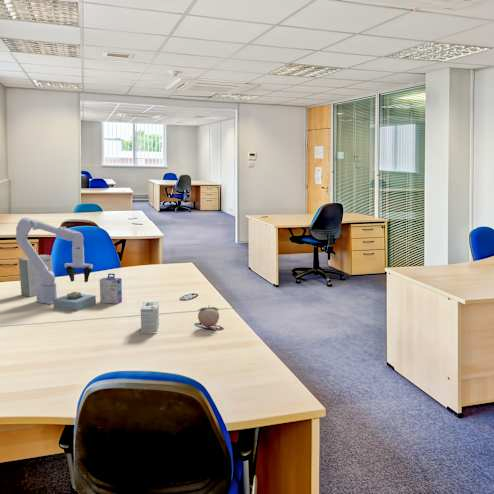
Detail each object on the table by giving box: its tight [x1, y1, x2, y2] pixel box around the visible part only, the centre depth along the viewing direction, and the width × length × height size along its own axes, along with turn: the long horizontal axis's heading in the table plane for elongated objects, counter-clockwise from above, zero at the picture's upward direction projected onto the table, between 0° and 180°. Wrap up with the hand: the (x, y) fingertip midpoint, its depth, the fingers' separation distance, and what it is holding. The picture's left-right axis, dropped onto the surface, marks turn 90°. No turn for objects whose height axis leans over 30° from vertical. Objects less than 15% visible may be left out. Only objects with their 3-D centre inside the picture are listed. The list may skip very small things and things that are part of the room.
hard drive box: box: [18, 254, 54, 298], centre depth 278 cm, size 16×8×20 cm, turn 144°
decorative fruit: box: [197, 306, 220, 328], centre depth 222 cm, size 9×8×10 cm
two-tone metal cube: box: [66, 291, 82, 300], centre depth 255 cm, size 4×5×6 cm
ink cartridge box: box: [99, 273, 123, 304], centre depth 262 cm, size 10×6×14 cm, turn 79°
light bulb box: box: [140, 301, 160, 334], centre depth 219 cm, size 11×7×11 cm, turn 5°
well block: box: [53, 293, 97, 312], centre depth 255 cm, size 14×14×4 cm
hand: (79, 281), depth 266 cm, fingers open, 7 cm apart
